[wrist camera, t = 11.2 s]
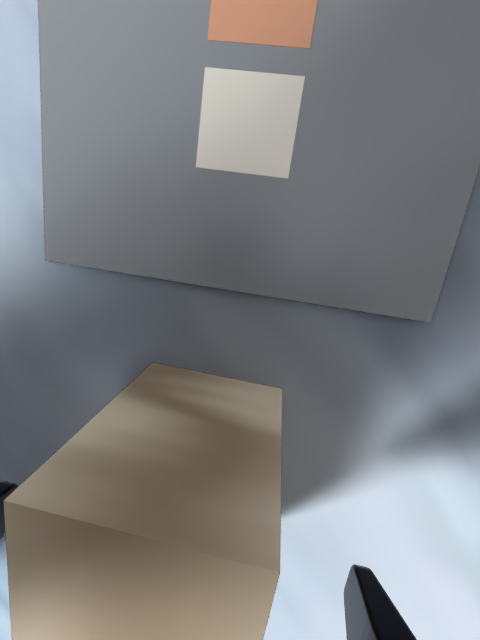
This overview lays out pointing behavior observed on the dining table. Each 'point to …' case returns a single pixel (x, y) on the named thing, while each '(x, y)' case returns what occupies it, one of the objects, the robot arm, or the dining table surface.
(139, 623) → the maple block
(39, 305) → the dining table surface
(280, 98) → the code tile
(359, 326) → the dining table surface
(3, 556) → the dining table surface
